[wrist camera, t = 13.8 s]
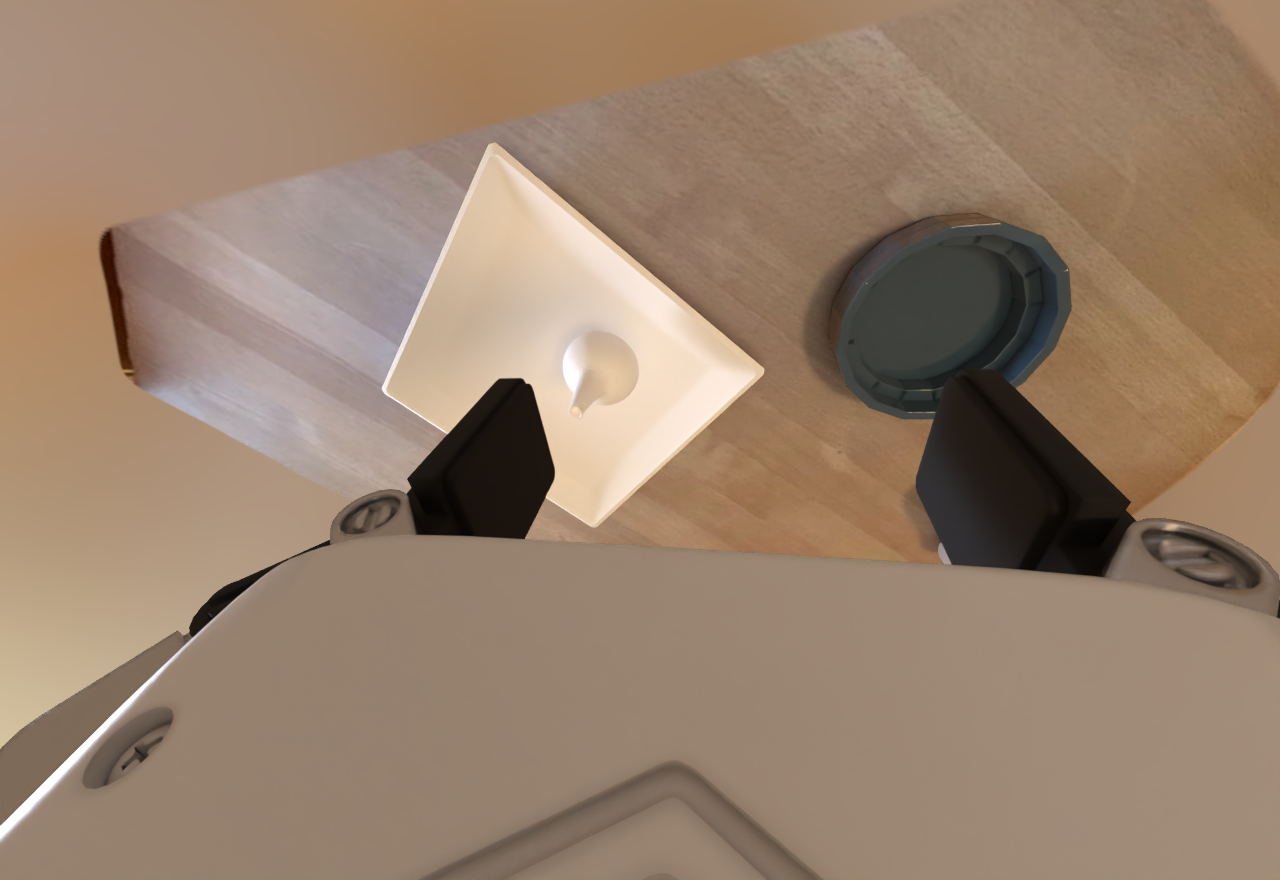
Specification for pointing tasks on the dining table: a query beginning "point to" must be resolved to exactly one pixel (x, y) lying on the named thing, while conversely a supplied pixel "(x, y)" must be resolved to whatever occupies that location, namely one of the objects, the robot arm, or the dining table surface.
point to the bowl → (947, 310)
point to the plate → (561, 338)
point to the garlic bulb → (599, 371)
